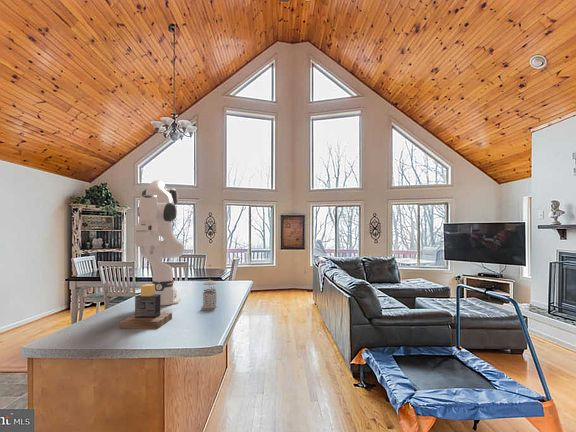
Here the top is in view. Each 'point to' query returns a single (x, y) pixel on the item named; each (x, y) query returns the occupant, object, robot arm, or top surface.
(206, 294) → the french press
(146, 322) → the base board
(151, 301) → the small box
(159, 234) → the robot arm
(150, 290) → the mustard block
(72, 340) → the top surface
